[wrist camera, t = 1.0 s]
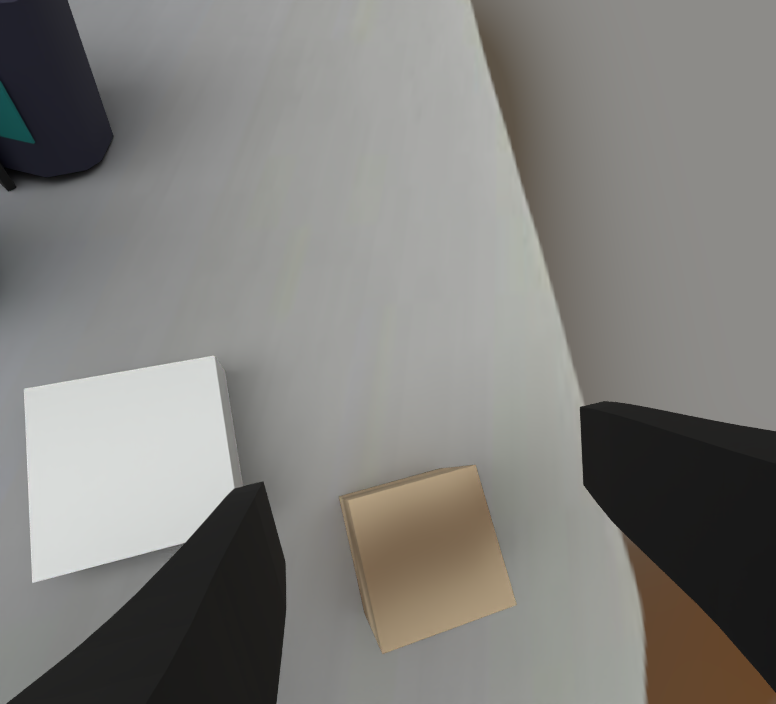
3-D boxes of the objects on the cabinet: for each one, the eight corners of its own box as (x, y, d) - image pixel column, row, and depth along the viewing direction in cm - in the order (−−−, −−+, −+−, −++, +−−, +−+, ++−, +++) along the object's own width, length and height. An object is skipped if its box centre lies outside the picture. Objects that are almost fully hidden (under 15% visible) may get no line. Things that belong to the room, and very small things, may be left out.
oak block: (468, 577, 21) (516, 604, 16) (364, 612, 20) (382, 654, 15) (439, 468, 22) (475, 464, 17) (338, 496, 21) (347, 500, 16)
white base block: (249, 522, 20) (240, 528, 17) (74, 567, 18) (32, 582, 16) (226, 372, 22) (214, 355, 19) (63, 402, 20) (23, 388, 17)
